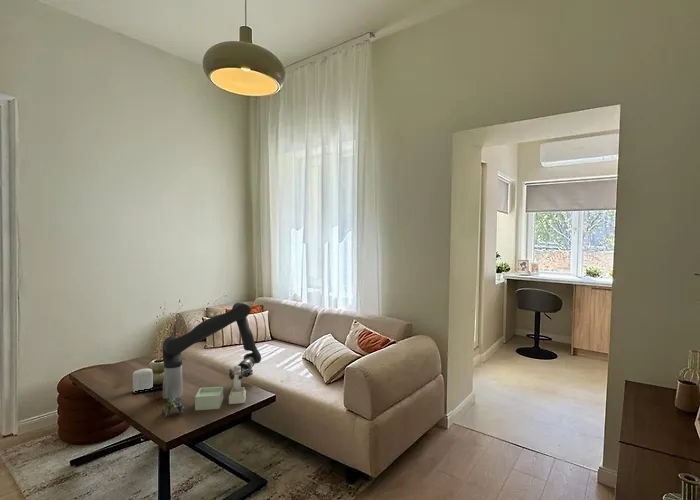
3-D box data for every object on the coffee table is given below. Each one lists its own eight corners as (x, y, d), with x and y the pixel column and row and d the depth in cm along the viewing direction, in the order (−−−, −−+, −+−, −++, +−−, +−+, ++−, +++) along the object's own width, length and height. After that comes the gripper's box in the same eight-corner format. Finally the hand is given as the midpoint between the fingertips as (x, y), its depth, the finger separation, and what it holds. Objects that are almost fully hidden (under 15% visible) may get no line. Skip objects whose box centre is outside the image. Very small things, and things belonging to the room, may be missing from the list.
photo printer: (152, 387, 226) (152, 366, 226) (153, 389, 222) (153, 368, 222) (132, 390, 220) (132, 369, 220) (133, 393, 217) (132, 371, 216)
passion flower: (180, 423, 193) (191, 407, 190) (159, 428, 184) (170, 410, 181) (172, 405, 199) (183, 389, 196) (152, 409, 190) (162, 392, 188)
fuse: (233, 390, 205) (233, 368, 205) (234, 387, 209) (234, 365, 209) (240, 389, 206) (240, 367, 206) (241, 387, 210) (241, 365, 210)
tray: (195, 410, 196) (195, 396, 196) (200, 400, 208) (200, 387, 207) (219, 408, 198) (219, 395, 198) (223, 399, 210) (223, 386, 209)
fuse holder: (228, 404, 203) (228, 393, 203) (231, 397, 211) (231, 387, 211) (244, 403, 205) (244, 392, 204) (246, 396, 213) (245, 386, 212)
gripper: (232, 360, 222) (222, 370, 205) (256, 361, 222) (248, 371, 204) (232, 373, 222) (222, 384, 205) (256, 373, 222) (248, 385, 205)
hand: (235, 377), depth 205 cm, fingers closed on fuse, 3 cm apart
